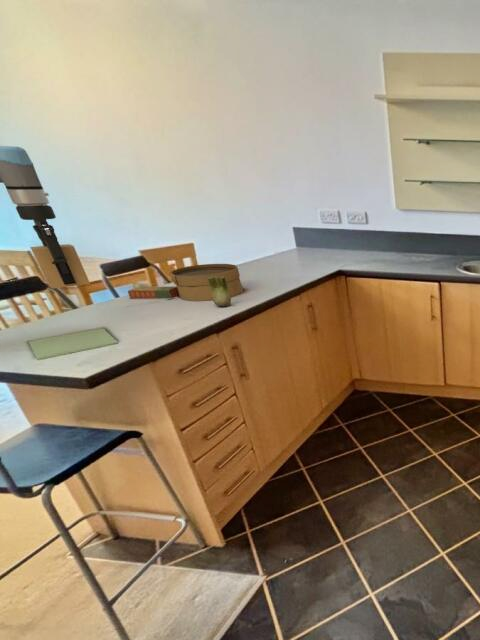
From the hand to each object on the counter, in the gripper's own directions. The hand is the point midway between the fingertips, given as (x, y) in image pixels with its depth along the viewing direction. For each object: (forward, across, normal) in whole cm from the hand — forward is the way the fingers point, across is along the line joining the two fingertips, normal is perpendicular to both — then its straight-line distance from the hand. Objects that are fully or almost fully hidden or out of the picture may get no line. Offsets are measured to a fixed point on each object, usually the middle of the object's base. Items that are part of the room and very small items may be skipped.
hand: (68, 282), depth 135 cm
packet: (+1, 0, 0) cm, 1 cm away
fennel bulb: (+17, 0, -41) cm, 45 cm away
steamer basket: (+17, +25, -46) cm, 55 cm away
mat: (+17, -11, +6) cm, 21 cm away
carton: (+17, +36, -28) cm, 48 cm away
